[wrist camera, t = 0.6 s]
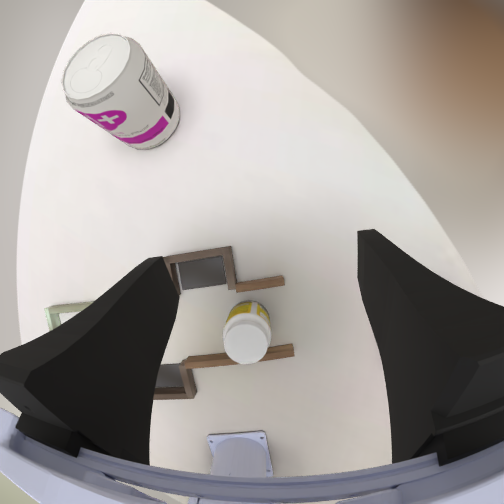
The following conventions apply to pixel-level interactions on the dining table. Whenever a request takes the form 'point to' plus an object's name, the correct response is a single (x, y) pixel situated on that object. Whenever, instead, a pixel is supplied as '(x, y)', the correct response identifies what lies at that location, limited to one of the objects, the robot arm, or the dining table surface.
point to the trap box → (191, 277)
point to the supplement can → (121, 91)
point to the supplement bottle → (247, 332)
